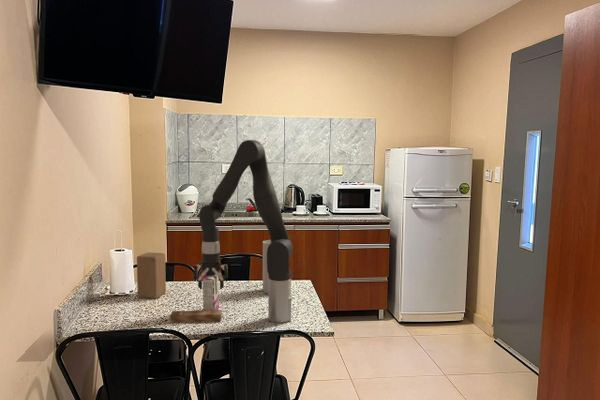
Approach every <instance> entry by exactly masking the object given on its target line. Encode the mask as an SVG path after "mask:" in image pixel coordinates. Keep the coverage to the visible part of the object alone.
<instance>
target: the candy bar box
mask: <svg viewBox="0 0 600 400" xmlns="http://www.w3.org/2000/svg"><path fill="white" fill-rule="evenodd" d="M219 290H220V284H219V277H218V276H217V275H206V274H205V275H204V277H203V278H202V303H203V304H202V307H203V309H202V311H208V310H211V311H219V309H220V300H219V299H220V297H219V295H220V293H219V292H220V291H219Z"/></svg>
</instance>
